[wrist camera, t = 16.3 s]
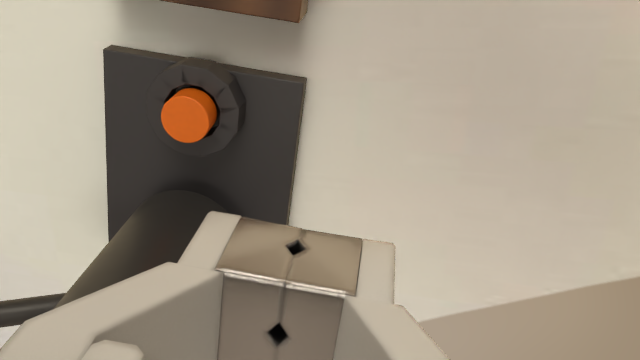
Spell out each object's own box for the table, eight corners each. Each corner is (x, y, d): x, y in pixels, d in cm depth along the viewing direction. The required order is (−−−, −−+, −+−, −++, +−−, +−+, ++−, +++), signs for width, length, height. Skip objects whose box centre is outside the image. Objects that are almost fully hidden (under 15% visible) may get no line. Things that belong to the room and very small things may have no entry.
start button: (171, 83, 37) (160, 92, 36) (218, 91, 37) (210, 100, 36) (170, 128, 39) (160, 138, 37) (215, 136, 38) (207, 147, 37)
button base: (110, 37, 39) (89, 49, 37) (307, 71, 39) (300, 84, 36) (115, 249, 47) (97, 271, 44) (281, 280, 46) (273, 304, 43)
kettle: (297, 210, 40) (239, 379, 26) (284, 306, 43) (227, 499, 30) (76, 170, 40) (-90, 313, 27) (82, 268, 44) (-63, 438, 30)
